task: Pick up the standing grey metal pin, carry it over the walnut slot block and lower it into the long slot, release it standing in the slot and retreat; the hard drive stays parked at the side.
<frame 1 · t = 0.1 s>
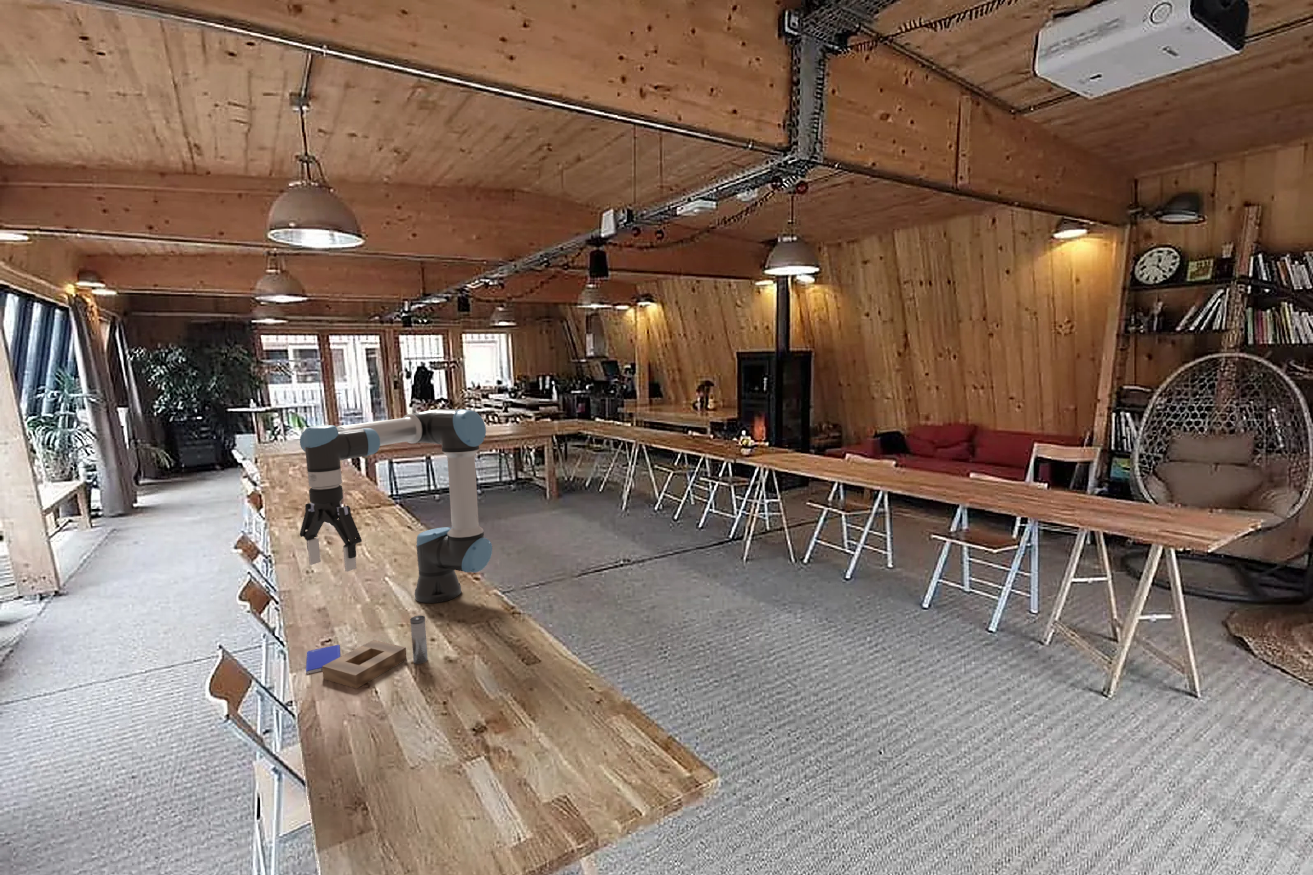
hand: (332, 566, 159), 28 cm above the table, fingers open, 13 cm apart
pin: (420, 660, 166), on the table
slot block: (366, 669, 162), on the table
hard drive: (324, 663, 167), on the table
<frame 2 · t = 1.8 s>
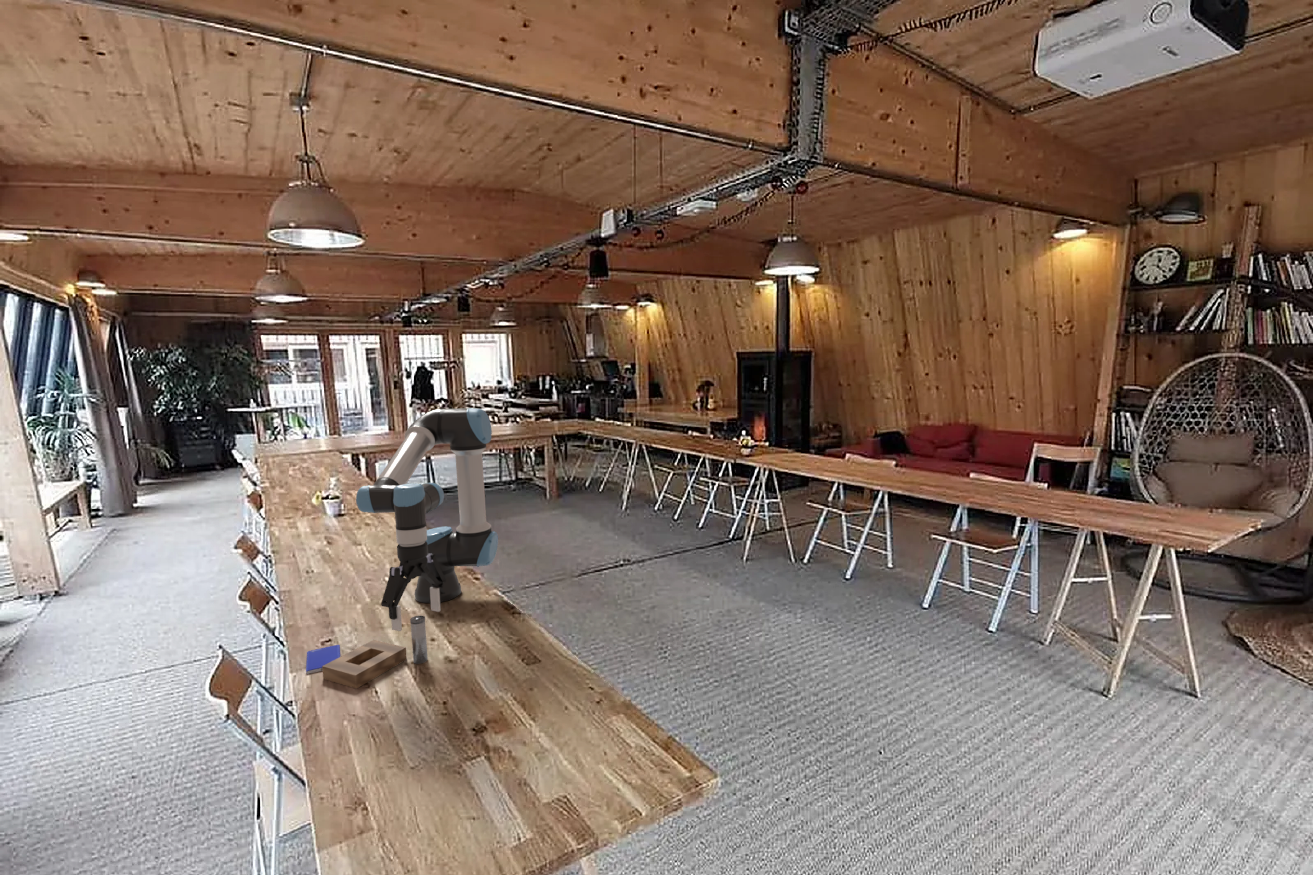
hand: (417, 620, 164), 12 cm above the table, fingers open, 13 cm apart
nothing on the table moved.
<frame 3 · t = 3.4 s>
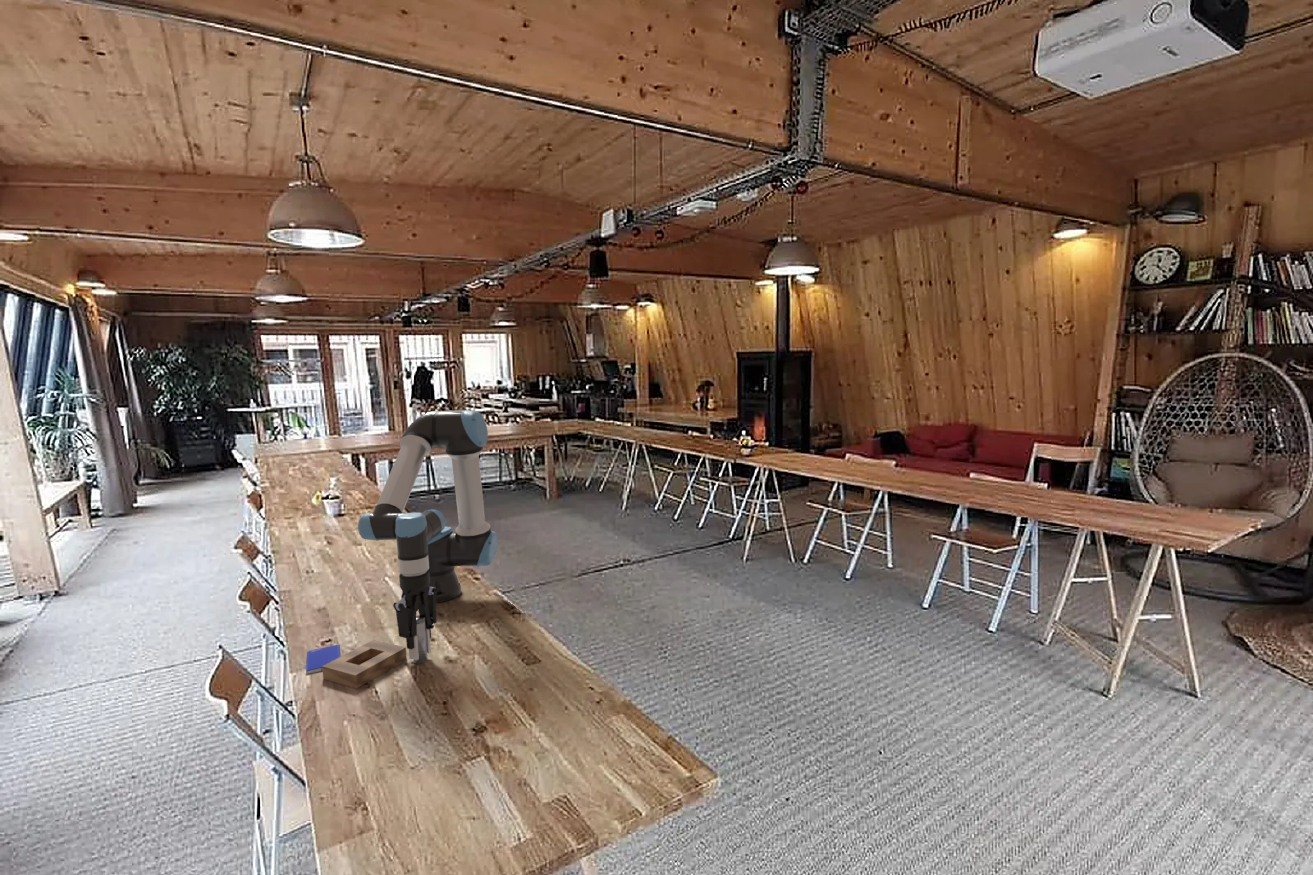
hand: (420, 655, 166), 2 cm above the table, fingers closed on pin, 4 cm apart
pin: (420, 660, 166), on the table, touching gripper
everything else where it was.
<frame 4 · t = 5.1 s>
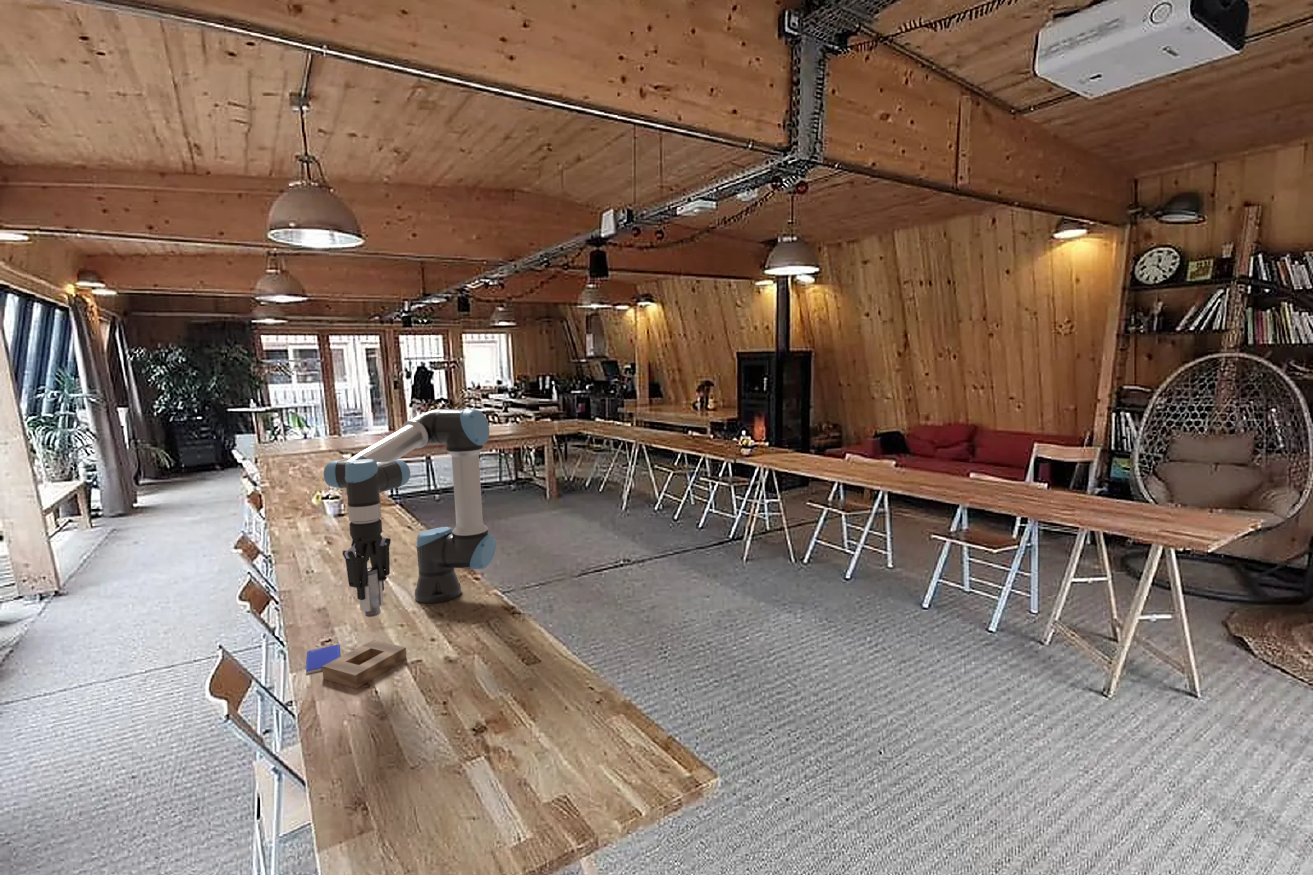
hand: (372, 607, 160), 17 cm above the table, fingers closed on pin, 4 cm apart
pin: (372, 614, 161), point 15 cm above the table, touching gripper
everything else where it was.
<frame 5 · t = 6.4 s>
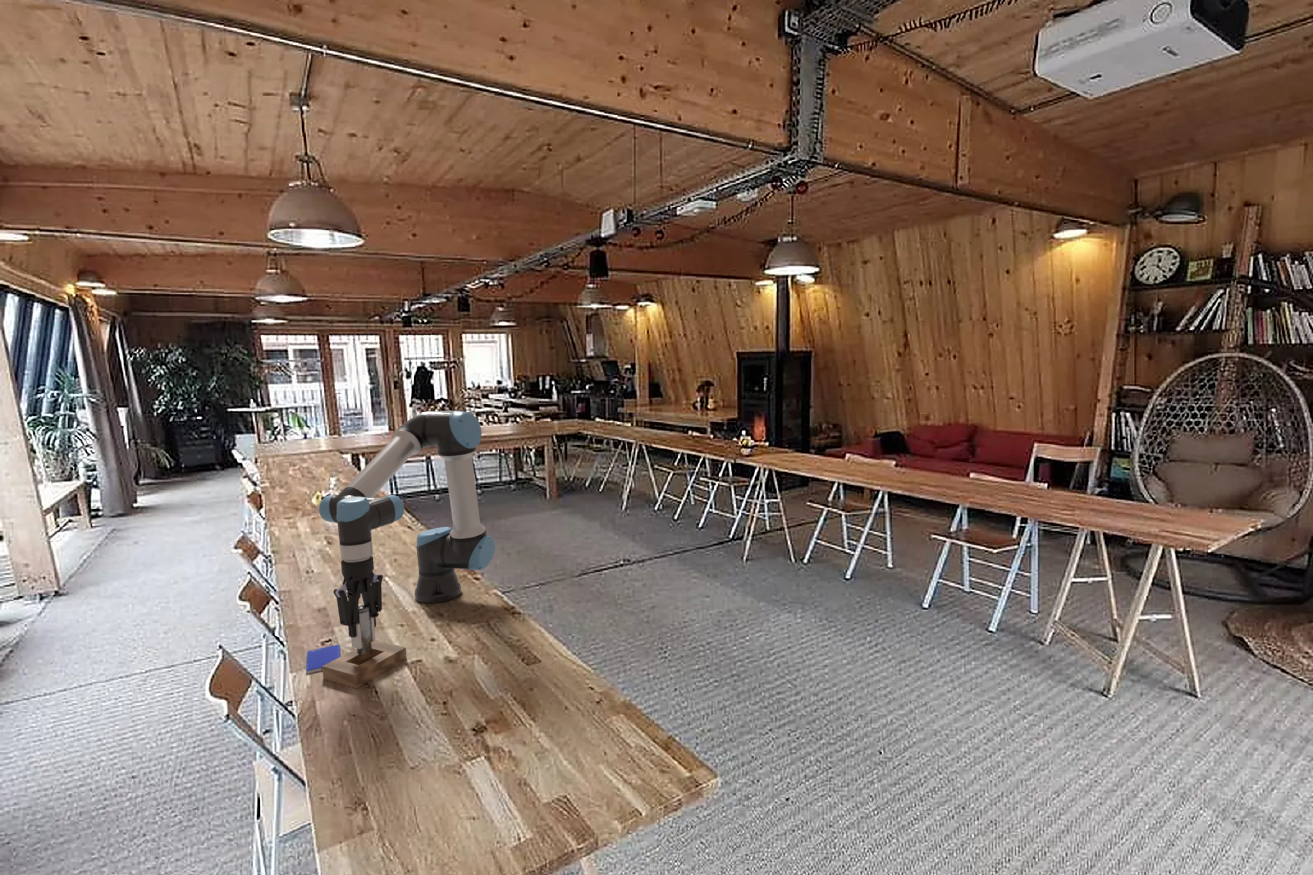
hand: (363, 643, 161), 7 cm above the table, fingers closed on pin, 4 cm apart
pin: (364, 651, 161), point 5 cm above the table, touching gripper
everything else where it was.
when the fingers open (4 cm above the table, at t = 7.1 s): pin stays where it is, resting on slot block.
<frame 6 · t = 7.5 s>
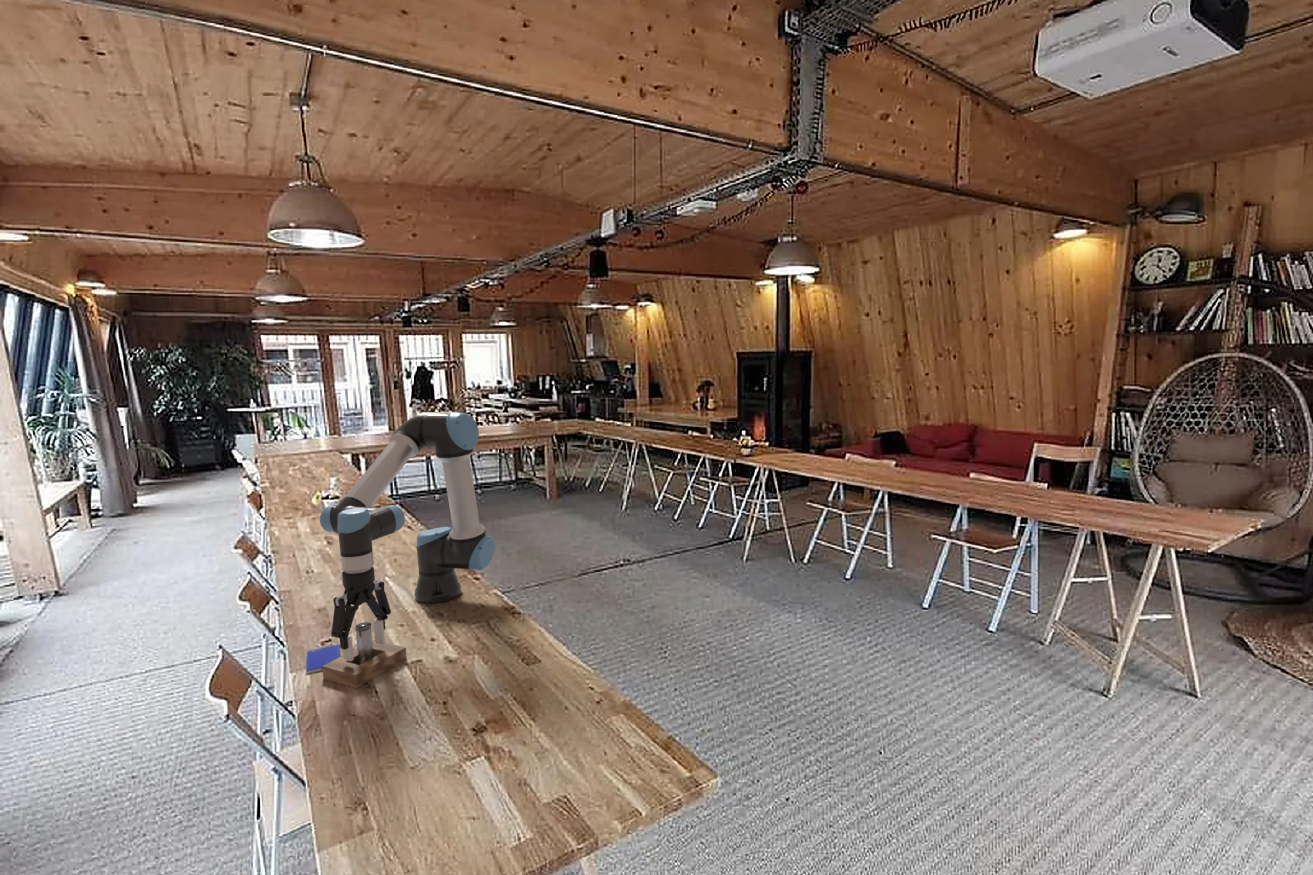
hand: (364, 651, 161), 5 cm above the table, fingers open, 9 cm apart
pin: (366, 668, 162), resting on slot block
everything else where it was.
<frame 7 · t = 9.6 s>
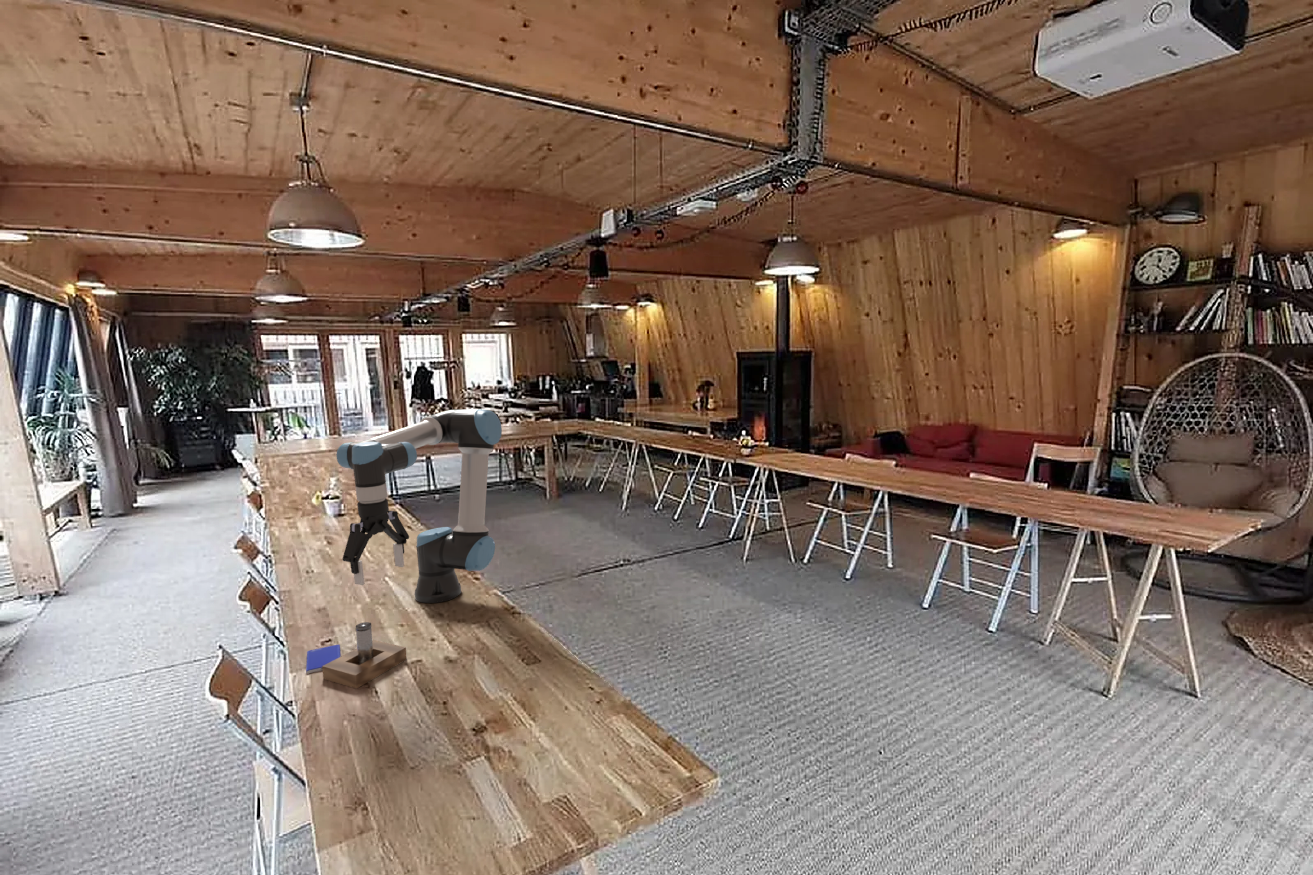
hand: (380, 574, 168), 22 cm above the table, fingers open, 13 cm apart
nothing on the table moved.
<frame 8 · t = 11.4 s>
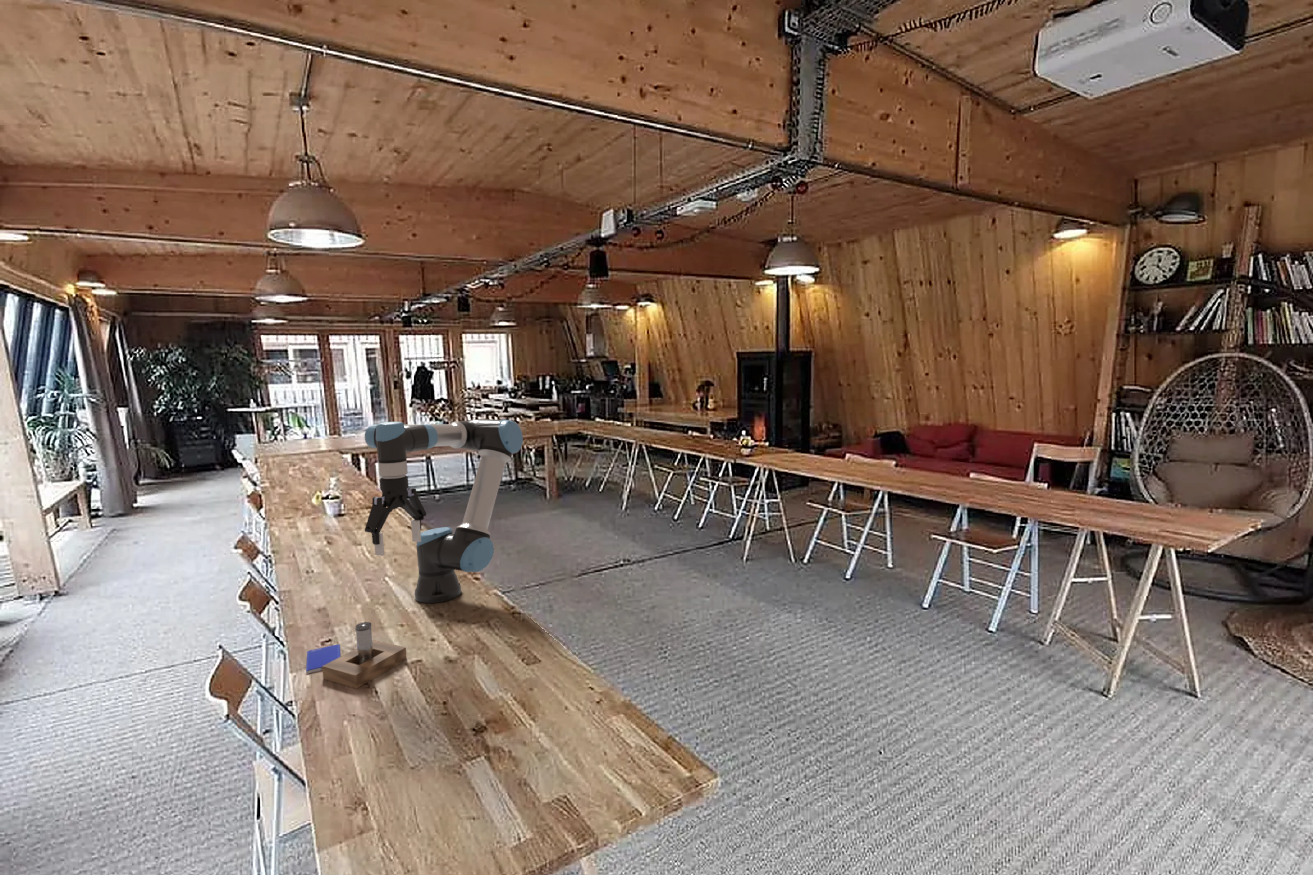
hand: (398, 548, 178), 27 cm above the table, fingers open, 13 cm apart
nothing on the table moved.
at the end: pin inside the target area on the slot block (0.1 cm from its centre), point 0.1 cm above the slot block's base; pin tilted 1°; the gripper is holding nothing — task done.
